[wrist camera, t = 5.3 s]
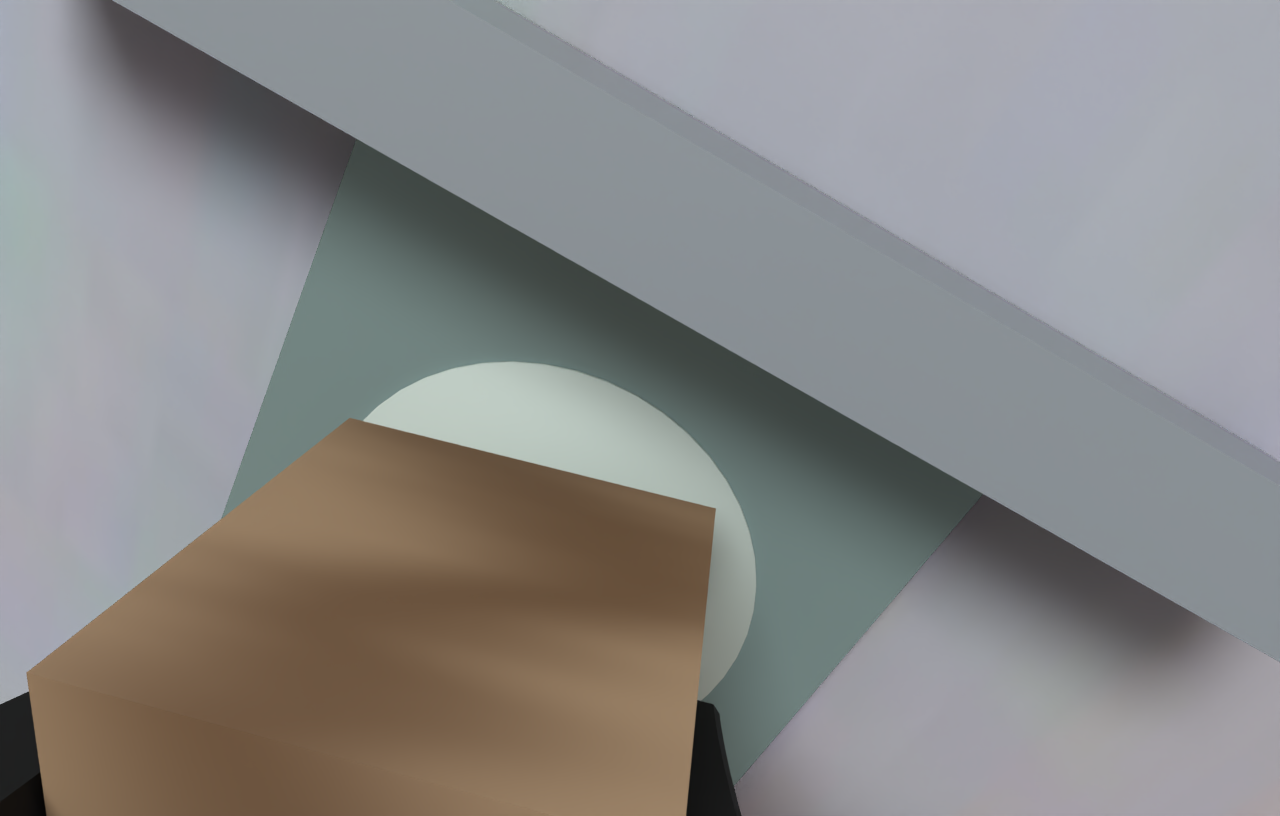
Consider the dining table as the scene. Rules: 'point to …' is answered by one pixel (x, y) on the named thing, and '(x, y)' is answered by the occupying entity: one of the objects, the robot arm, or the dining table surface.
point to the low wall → (778, 279)
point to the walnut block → (394, 649)
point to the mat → (606, 425)
